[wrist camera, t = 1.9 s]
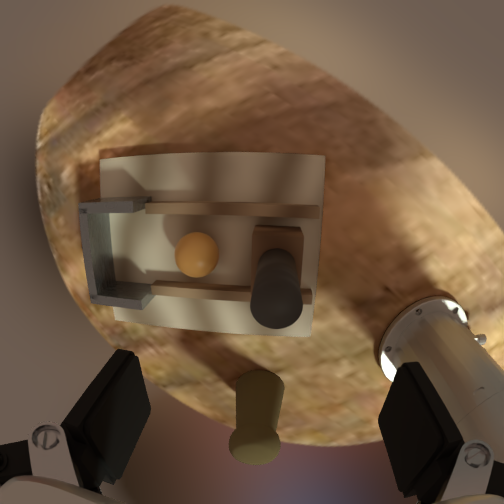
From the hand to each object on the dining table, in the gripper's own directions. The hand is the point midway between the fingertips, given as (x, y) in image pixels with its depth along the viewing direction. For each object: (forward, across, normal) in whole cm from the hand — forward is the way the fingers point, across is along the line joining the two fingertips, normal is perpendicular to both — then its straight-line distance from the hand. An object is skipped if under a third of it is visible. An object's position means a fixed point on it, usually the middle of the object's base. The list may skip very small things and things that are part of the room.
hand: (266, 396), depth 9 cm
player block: (+18, 0, 0) cm, 19 cm away
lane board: (+20, +6, 0) cm, 21 cm away
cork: (+20, 0, +18) cm, 27 cm away
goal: (+19, +14, 0) cm, 24 cm away
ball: (+17, +6, 0) cm, 18 cm away
